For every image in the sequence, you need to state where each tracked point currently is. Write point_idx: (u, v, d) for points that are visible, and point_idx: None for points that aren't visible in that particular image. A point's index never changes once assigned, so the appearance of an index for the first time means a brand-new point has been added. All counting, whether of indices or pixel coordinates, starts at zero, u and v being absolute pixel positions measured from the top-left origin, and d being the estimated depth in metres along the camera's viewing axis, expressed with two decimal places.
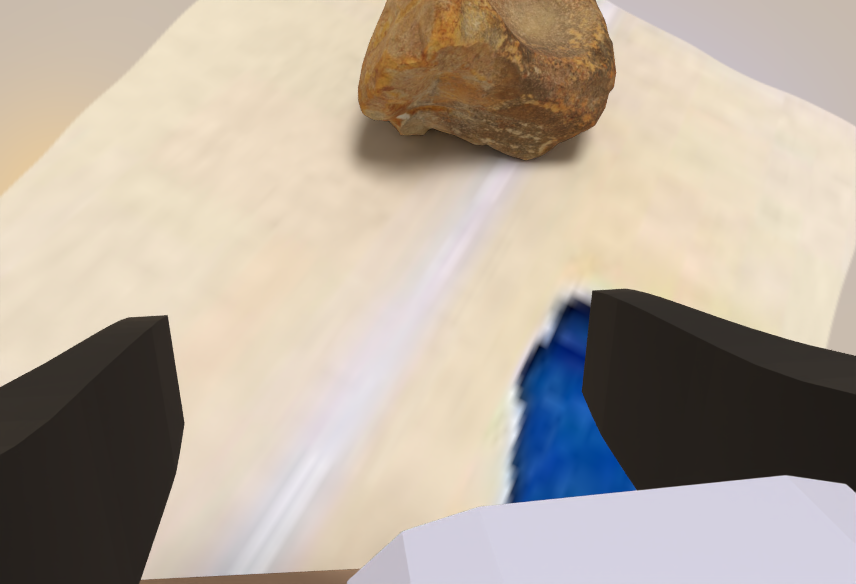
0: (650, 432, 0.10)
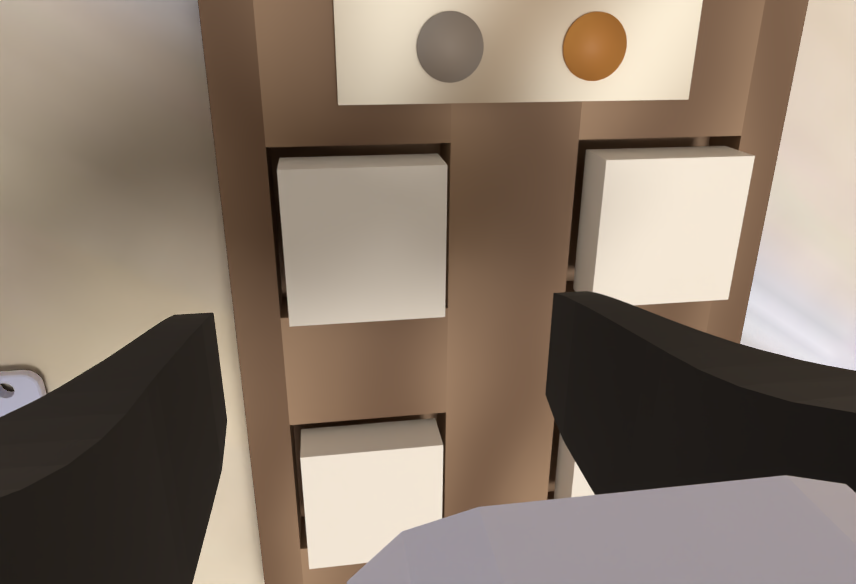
0: (604, 436, 0.10)
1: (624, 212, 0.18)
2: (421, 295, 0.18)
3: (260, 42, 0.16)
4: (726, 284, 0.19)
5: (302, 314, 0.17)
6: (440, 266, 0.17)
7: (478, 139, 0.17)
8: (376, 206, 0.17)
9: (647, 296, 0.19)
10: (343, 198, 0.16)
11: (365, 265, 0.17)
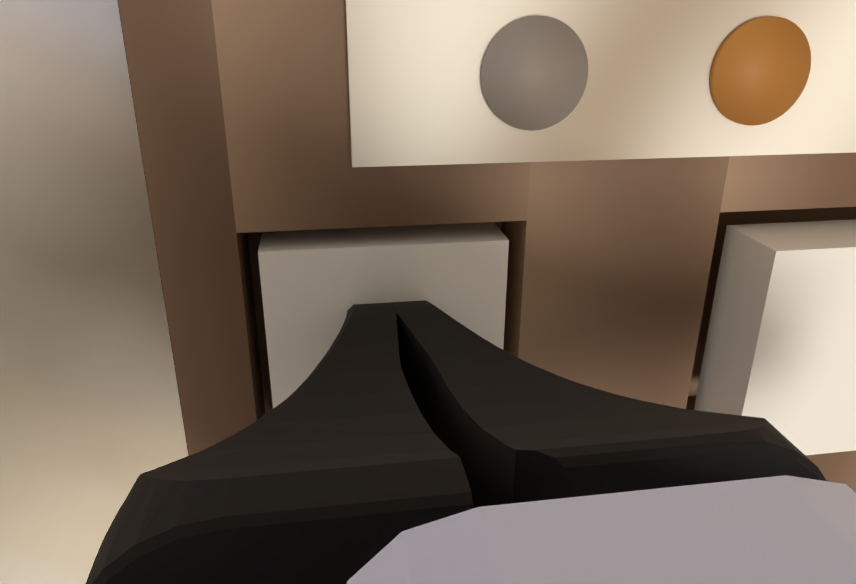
0: None
1: (794, 327, 0.11)
2: None
3: (224, 67, 0.10)
4: None
5: None
6: None
7: (569, 214, 0.11)
8: (404, 300, 0.11)
9: (814, 443, 0.12)
10: (356, 290, 0.11)
11: None
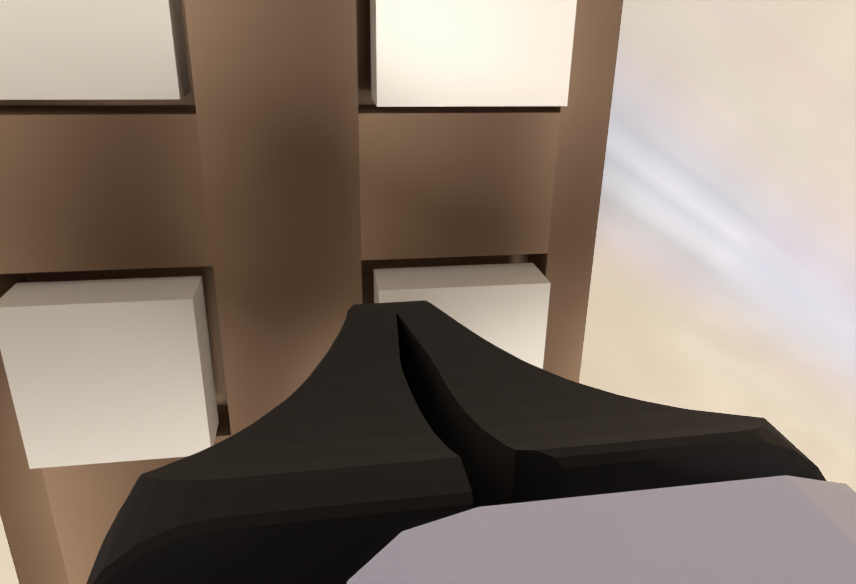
0: None
1: None
2: (144, 66, 0.14)
3: None
4: (563, 83, 0.14)
5: None
6: (164, 26, 0.14)
7: None
8: None
9: (454, 94, 0.14)
10: None
11: (62, 18, 0.13)
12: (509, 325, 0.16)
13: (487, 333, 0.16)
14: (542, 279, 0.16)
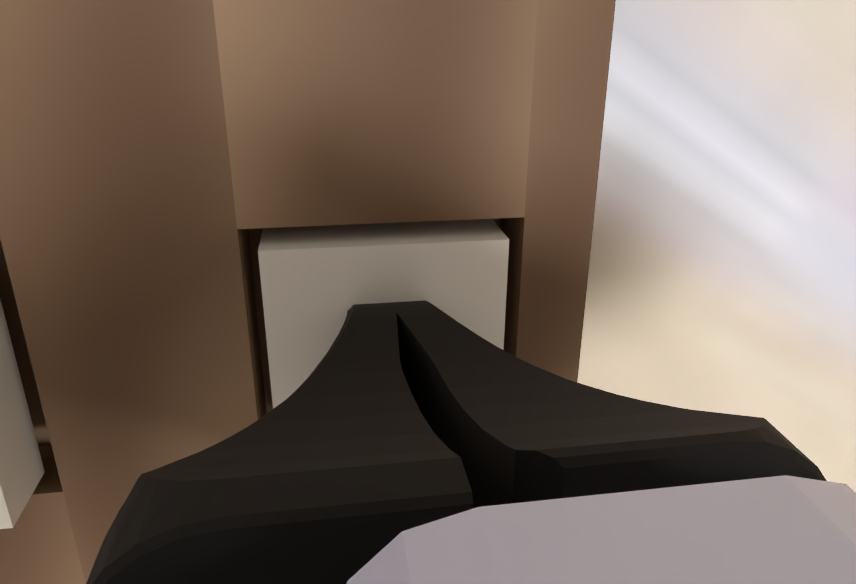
0: None
1: None
2: None
3: None
4: None
5: None
6: None
7: None
8: None
9: None
10: None
11: None
12: (452, 301, 0.11)
13: None
14: (498, 235, 0.11)
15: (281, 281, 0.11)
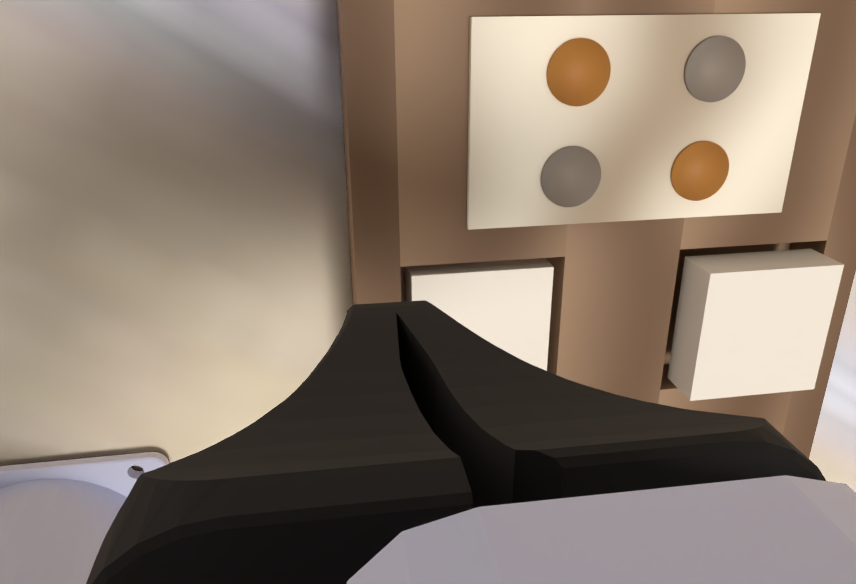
0: None
1: (724, 317, 0.19)
2: None
3: (401, 177, 0.17)
4: (813, 376, 0.20)
5: None
6: (543, 349, 0.20)
7: (590, 252, 0.19)
8: (492, 303, 0.19)
9: (741, 389, 0.20)
10: (465, 297, 0.19)
11: None
12: None
13: None
14: None
15: None
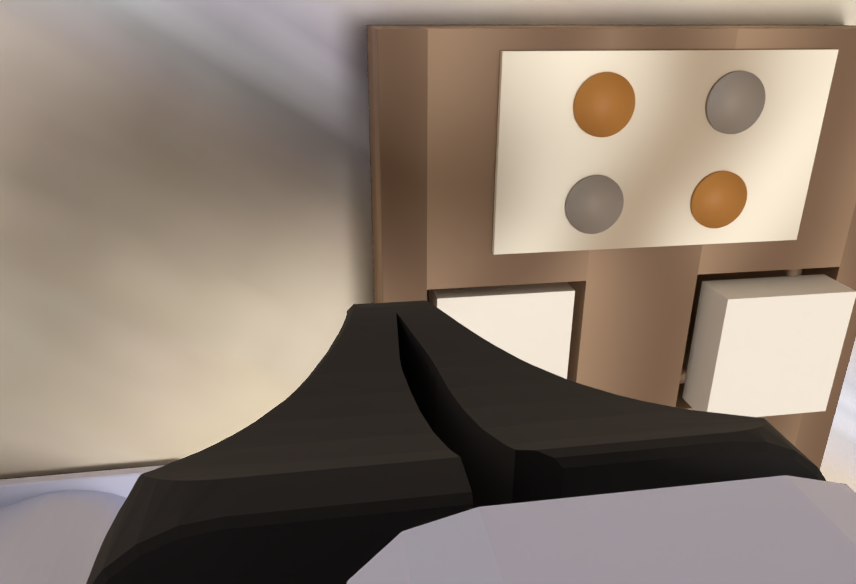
0: None
1: (740, 341, 0.20)
2: None
3: (430, 204, 0.18)
4: (824, 398, 0.21)
5: None
6: (563, 370, 0.21)
7: (610, 277, 0.20)
8: (515, 324, 0.20)
9: (755, 410, 0.21)
10: (489, 319, 0.20)
11: None
12: None
13: None
14: None
15: None
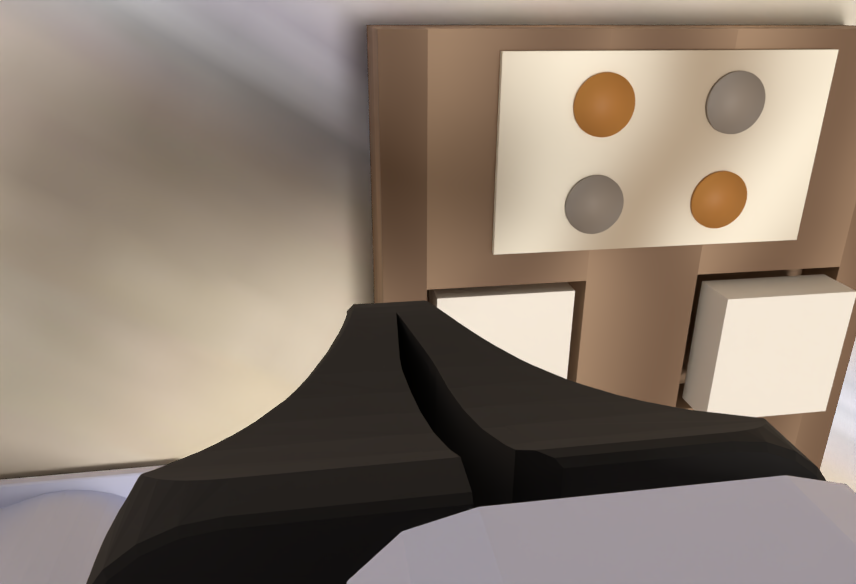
0: None
1: (740, 341, 0.20)
2: None
3: (430, 204, 0.18)
4: (824, 398, 0.21)
5: None
6: (563, 370, 0.21)
7: (610, 277, 0.20)
8: (515, 324, 0.20)
9: (755, 410, 0.21)
10: (489, 319, 0.20)
11: None
12: None
13: None
14: None
15: None
